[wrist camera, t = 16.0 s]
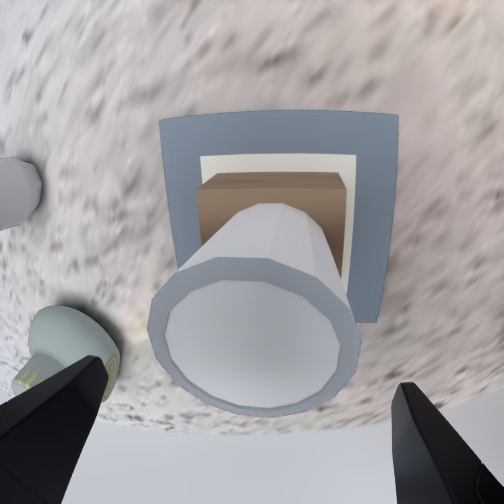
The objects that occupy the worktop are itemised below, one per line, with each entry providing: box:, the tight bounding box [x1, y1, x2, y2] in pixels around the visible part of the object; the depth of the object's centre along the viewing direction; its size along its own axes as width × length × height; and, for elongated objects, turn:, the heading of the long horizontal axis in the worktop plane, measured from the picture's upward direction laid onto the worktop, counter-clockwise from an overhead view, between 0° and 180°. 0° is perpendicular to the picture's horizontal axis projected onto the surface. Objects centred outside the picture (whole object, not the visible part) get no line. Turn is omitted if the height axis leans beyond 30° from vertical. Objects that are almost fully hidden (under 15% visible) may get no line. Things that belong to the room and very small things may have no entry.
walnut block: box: [195, 172, 347, 278], centre depth 17 cm, size 7×7×4 cm
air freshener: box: [12, 305, 120, 403], centre depth 24 cm, size 11×8×10 cm
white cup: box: [147, 203, 361, 418], centre depth 13 cm, size 7×7×7 cm
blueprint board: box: [159, 110, 398, 323], centre depth 20 cm, size 14×14×1 cm
